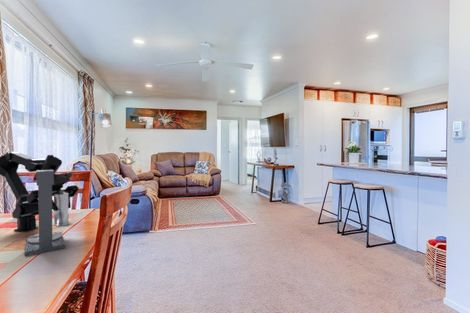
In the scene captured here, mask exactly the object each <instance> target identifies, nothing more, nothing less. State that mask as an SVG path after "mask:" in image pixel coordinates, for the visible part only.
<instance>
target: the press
mask: <svg viewBox="0 0 470 313" xmlns="http://www.w3.org/2000/svg"><path fill="white" fill-rule="evenodd" d="M35 174H36V178H37V180H36V186H38V188H37V190H38V205H39V215H38V233H36V234H34V235H31V236H27V237H25V247H24V248H25V249H24V256H25V257H27V256H33V255H37V254H38V255H39V254H42V253H48V252H53V251H59V250H64V249H66V242H65V239H64V236H63V235H64V234H63V232H62V231H60V232H59V231H53V209H52V200H53V196H52V185H54V177H67V178H70V179H71V178H72V177H73V172H71V171H67V172H65V173H60V172H59V173H55V174H54V171H53V170H36V172H35Z"/></svg>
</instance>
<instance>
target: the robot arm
mask: <svg viewBox="0 0 470 313" xmlns="http://www.w3.org/2000/svg"><path fill="white" fill-rule="evenodd" d="M62 164H63V161H62V160H61V159H60V158H58V157H56V156H54V155H53V154H48V155H46V157H45V158H42V157H38V158H37V157H32V156H30V155H27V154H25V153H21V151H8V152H6V153H4V155H1V156H0V176H2V177H4V178H5V180H6V183H7V184H8V186H9V188H10V190H11V191H12V193H13V195H14V198H15V199H16V203H15V205H14V206H15V207H14V210H13V211H12V213H11V214H12V219H16V221H17V222H16V223H17V225H16V227H17V228H15V229H13V231H14V232H25V233H26V232H30V231H32V230H35V229H39V225H37V220H36V216H39V205H38V189H37V190H35V189H34V190H31V192H29V191H28V189H27V188H26V186H25V184H24V183H23V181H22V179H21V177H20V175H19V174H18V169H19V166H20V165H22V166H24V169H25V170H26V171H27V172H29V173H34V172H35V174H34V176H33V180H32V181H37V178H36V170H53V171H54V174H57V172H58V171H59V169H60V167H61V166H62ZM70 181H71V178H67V177H54V185H52V197H54V194H57V193H59V190H62V189H63V188H64V185H66V184H68V182H70ZM63 190H64V193H68V209H71V206H72V205H71V198H73V197H74V196H76V194H77V193H78V191H79V190H80V188H79V186H78V185H77V184H73V185H67V187H65V189H63ZM57 210H58V209H57V206H56V205H55V203H54V199H52V211H57Z"/></svg>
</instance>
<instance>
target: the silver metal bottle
mask: <svg viewBox="0 0 470 313" xmlns="http://www.w3.org/2000/svg"><path fill="white" fill-rule="evenodd" d="M64 190H65V189H61V190H59V193H57V194H54V196H53V201H54V203H55V205H56V206H57V209H58V210H57V211H54V210H53V211H54V213H53V214H54V215H53V217H54V218H53V219H54V220H53V221H54V226H57V227H61V226H66V225H69V217H70V215H69V214H70V213H69V214H68V212H69V208H68V193H64Z"/></svg>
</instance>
